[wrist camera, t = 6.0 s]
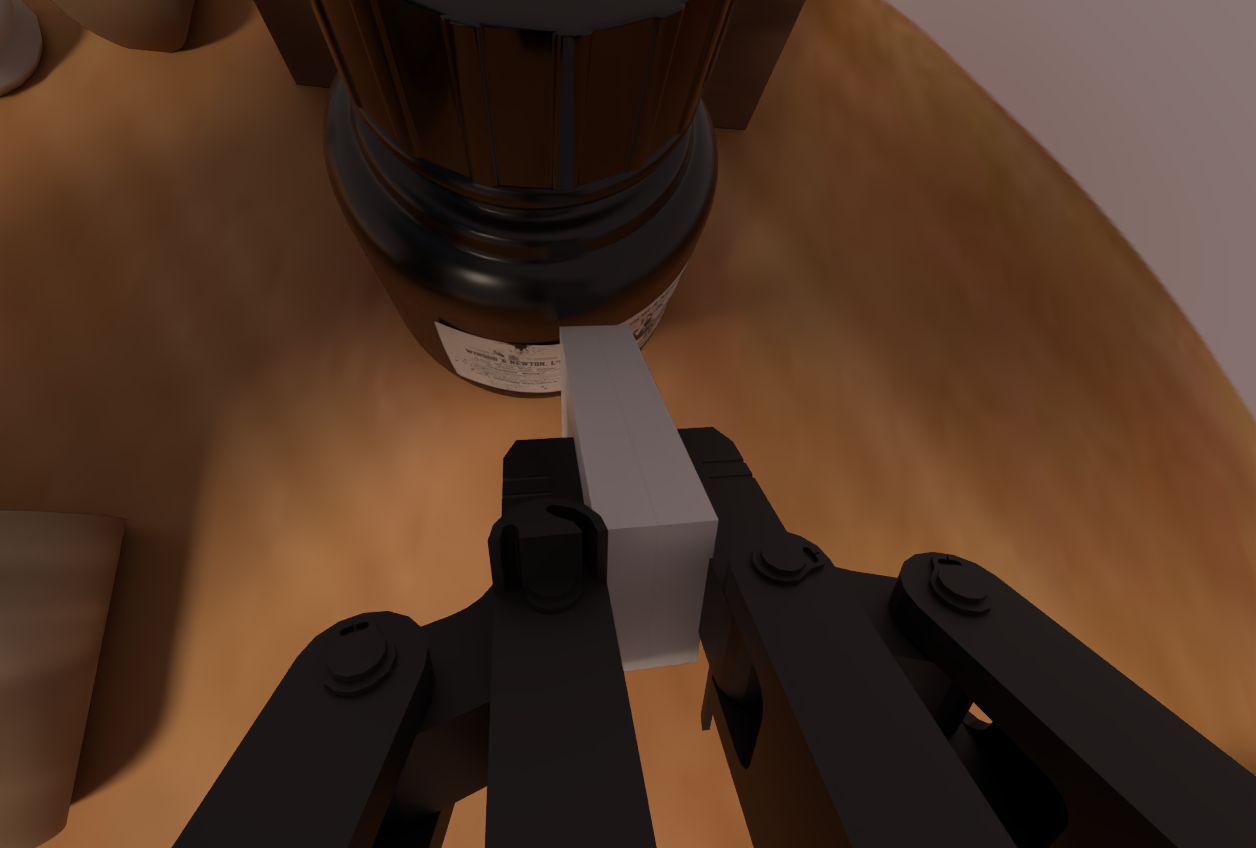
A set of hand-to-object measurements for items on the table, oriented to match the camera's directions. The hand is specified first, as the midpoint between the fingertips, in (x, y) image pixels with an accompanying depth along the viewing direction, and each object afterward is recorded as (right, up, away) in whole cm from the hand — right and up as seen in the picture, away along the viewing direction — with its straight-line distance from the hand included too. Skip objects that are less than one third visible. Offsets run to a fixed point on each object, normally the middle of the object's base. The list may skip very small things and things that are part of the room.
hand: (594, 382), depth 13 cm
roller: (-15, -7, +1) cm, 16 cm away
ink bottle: (-2, +4, +6) cm, 8 cm away
